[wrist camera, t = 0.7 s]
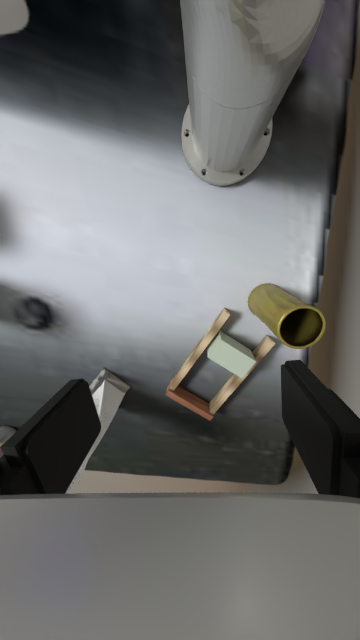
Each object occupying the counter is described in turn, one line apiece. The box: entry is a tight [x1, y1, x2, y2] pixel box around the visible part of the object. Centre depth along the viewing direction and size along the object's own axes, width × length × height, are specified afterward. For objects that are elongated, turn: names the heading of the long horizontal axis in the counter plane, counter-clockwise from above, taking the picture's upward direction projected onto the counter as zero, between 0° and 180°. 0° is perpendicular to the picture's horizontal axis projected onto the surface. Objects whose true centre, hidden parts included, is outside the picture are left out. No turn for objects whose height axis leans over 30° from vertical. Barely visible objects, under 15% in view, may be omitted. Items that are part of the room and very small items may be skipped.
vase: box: [248, 284, 326, 349], centre depth 31 cm, size 6×6×14 cm
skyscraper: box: [65, 368, 130, 494], centre depth 33 cm, size 8×8×28 cm
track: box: [166, 308, 275, 421], centre depth 41 cm, size 20×10×3 cm, turn 148°
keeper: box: [207, 331, 256, 378], centre depth 38 cm, size 4×7×4 cm, turn 58°
